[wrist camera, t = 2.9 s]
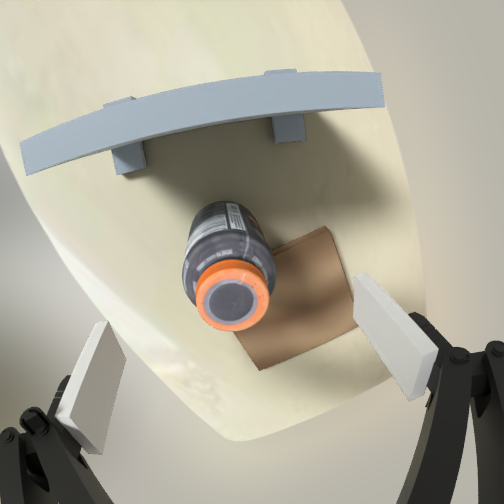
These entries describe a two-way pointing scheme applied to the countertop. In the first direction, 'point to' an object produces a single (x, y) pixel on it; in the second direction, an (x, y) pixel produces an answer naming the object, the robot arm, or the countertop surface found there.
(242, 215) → the pill bottle
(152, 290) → the countertop surface
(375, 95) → the screen
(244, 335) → the plinth
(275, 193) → the countertop surface
